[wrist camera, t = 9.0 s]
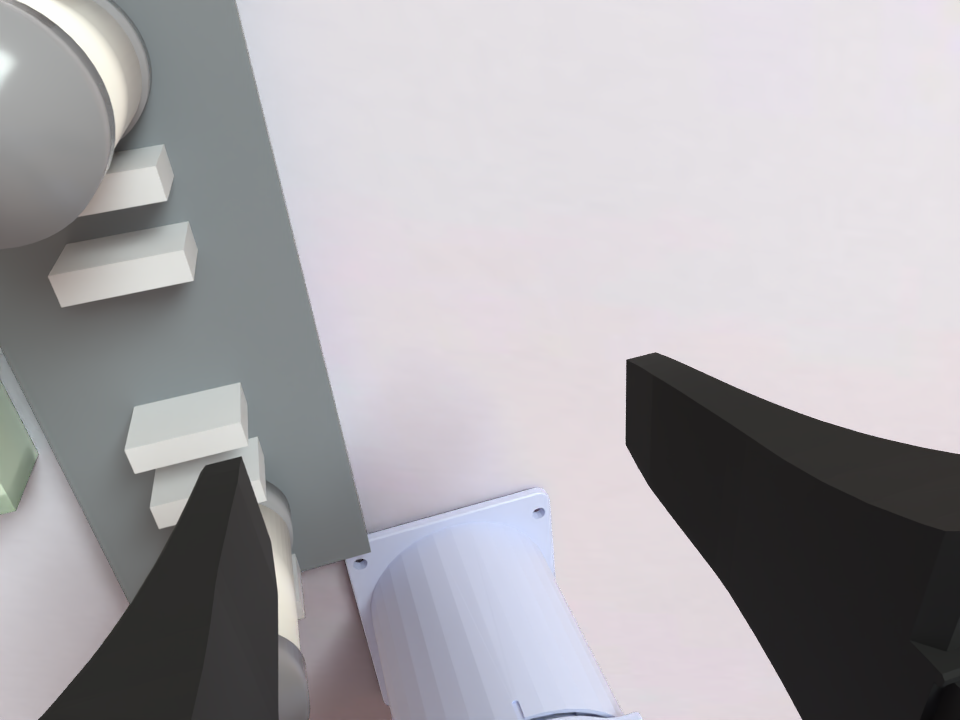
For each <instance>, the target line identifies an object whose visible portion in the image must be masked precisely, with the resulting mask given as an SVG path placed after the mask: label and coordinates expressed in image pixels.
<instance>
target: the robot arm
mask: <svg viewBox="0 0 960 720" xmlns="http://www.w3.org/2000/svg"><path fill="white" fill-rule="evenodd" d="M626 446H627V448H628V450H629V452H630V453H631V455H632V457H633V459H634V461H635V463H636V464H637V466H638V468H639V470H640V472H641V473H642V475H643V477H644V478H645V480H646V482H647V484H648V485H649V487H650V488H651V490H652V491H653V492H654V494H655V495H656V496H657V498H658V499H659V500H660V502H661V503H662V504H663V506H664V507H665V508H666V510H667V511H668V512H669V514H670V515H671V516H672V517H673V519H674V520H675V521H676V523H677V524H678V525H679V527H680V528H681V529H682V530H683V532H684V533H685V534H686V536H687V537H688V538H689V540H690V541H691V542H692V543H693V545H694V546H695V547H696V549H697V550H698V551H699V552H700V554H701V555H702V556H703V558H704V559H705V560H706V562H707V563H708V564H709V565H710V567H711V568H712V569H713V571H714V572H715V573H716V575H717V576H718V578H719V579H720V580H721V582H722V583H723V585H724V586H725V588H726V589H727V590H728V592H729V593H730V595H731V597H732V598H733V600H734V602H735V603H736V605H737V606H738V608H739V610H740V611H741V613H742V615H743V616H744V618H745V620H746V621H747V623H748V624H749V626H750V628H751V629H752V631H753V633H754V634H755V636H756V638H757V639H758V641H759V643H760V645H761V646H762V648H763V650H764V652H765V653H766V655H767V657H768V658H769V660H770V662H771V664H772V665H773V667H774V669H775V671H776V672H777V674H778V676H779V678H780V679H781V681H782V683H783V685H784V687H785V688H786V690H787V692H788V694H789V696H790V698H791V700H792V701H793V703H794V705H795V707H796V709H797V711H798V713H799V714H800V716H801V718H802V720H960V454H955V453H949V452H944V451H938V450H933V449H928V448H922V447H918V446H913V445H909V444H905V443H900V442H896V441H891V440H887V439H883V438H879V437H875V436H871V435H867V434H863V433H860V432H856V431H853V430H850V429H846V428H843V427H840V426H837V425H833V424H830V423H827V422H823V421H820V420H817V419H814V418H812V417H809V416H806V415H803V414H800V413H798V412H795V411H792V410H790V409H787V408H784V407H782V406H779V405H777V404H774V403H771V402H769V401H767V400H764V399H762V398H759V397H757V396H754V395H752V394H750V393H747V392H745V391H743V390H740V389H738V388H736V387H734V386H731V385H729V384H727V383H725V382H722V381H720V380H718V379H716V378H714V377H711V376H709V375H707V374H705V373H703V372H700V371H698V370H696V369H694V368H692V367H689V366H687V365H685V364H683V363H681V362H678V361H676V360H674V359H671V358H669V357H666V356H664V355H661V354H659V353H656V352H655V353H651V354H647V355H643V356H640V357H636V358H632V359H628V360H626ZM538 508H541V509H540V510H539V511H537V512H534V510H536V509H538ZM367 535H368V540H369V544H370V548H371V552H370V553H366V554H363V555H359V556H356V557H352V558H349V559H345V563H346V566H347V570H348V574H349V577H350V581H351V585H352V588H353V592H354V595H355V599H356V603H357V606H358V610H359V614H360V617H361V621H362V625H363V628H364V632H365V635H366V639H367V643H368V646H369V650H370V654H371V657H372V661H373V665H374V668H375V672H376V675H377V679H378V683H379V686H380V690H381V694H382V697H383V701H384V703H385V704H386V705H388V706H390V710H391V715H392V720H643V719H642V717H641V715H640V713H639V712H633V713H630V714H627V715H624V713H623V711H622V710H621V708H620V706H619V704H618V702H617V700H616V698H615V696H614V694H613V692H612V690H611V688H610V686H609V684H608V682H607V680H606V678H605V676H604V674H603V672H602V670H601V668H600V666H599V664H598V662H597V660H596V658H595V657H594V655H593V653H592V651H591V649H590V647H589V645H588V643H587V641H586V639H585V637H584V635H583V633H582V631H581V629H580V627H579V625H578V623H577V621H576V619H575V617H574V615H573V613H572V611H571V609H570V607H569V605H568V604H567V602H566V600H565V598H564V596H563V594H562V592H561V590H560V588H559V586H558V584H557V582H556V578H555V564H554V551H553V537H552V523H551V510H550V499H549V496H548V494H547V492H546V491H545V490H544V489H543V488H539V487H538V488H532V489H529V490H525V491H521V492H518V493H514V494H511V495H507V496H503V497H500V498H496V499H493V500H489V501H486V502H482V503H478V504H475V505H471V506H468V507H464V508H460V509H457V510H453V511H450V512H446V513H442V514H439V515H435V516H432V517H428V518H424V519H421V520H417V521H414V522H410V523H406V524H403V525H399V526H396V527H392V528H388V529H385V530H381V531H378V532H374V533H371V534H367ZM358 559H364V560H363V561H361V562H355V561H356V560H358ZM38 720H279V712H278V589H277V581H276V573H275V565H274V558H273V551H272V543H271V540H270V537H269V534H268V531H267V528H266V525H265V522H264V519H263V516H262V514H261V511H260V508H259V505H258V502H257V499H256V496H255V493H254V490H253V488H252V485H251V482H250V479H249V476H248V473H247V470H246V467H245V464H244V462H243V459H242V456H240V457H236V458H232V459H228V460H224V461H221V462H217V463H213V464H209V465H205V467H204V468H203V469H202V471H201V472H200V475H199V477H198V479H197V481H196V484H195V486H194V488H193V490H192V492H191V495H190V497H189V499H188V501H187V503H186V505H185V507H184V509H183V511H182V513H181V515H180V517H179V520H178V522H177V524H176V526H175V527H174V529H173V531H172V533H171V535H170V537H169V539H168V541H167V542H166V544H165V546H164V548H163V550H162V552H161V554H160V556H159V557H158V559H157V561H156V563H155V564H154V566H153V568H152V569H151V571H150V573H149V574H148V576H147V578H146V579H145V581H144V582H143V584H142V586H141V587H140V589H139V591H138V592H137V594H136V596H135V597H134V599H133V600H132V602H131V604H130V605H129V607H128V608H127V610H126V611H125V613H124V614H123V615H122V617H121V618H120V620H119V621H118V623H117V624H116V626H115V627H114V628H113V630H112V631H111V633H110V634H109V635H108V637H107V638H106V639H105V641H104V642H103V644H102V645H101V646H100V648H99V649H98V650H97V652H96V653H95V654H94V656H93V657H92V658H91V659H90V661H89V662H88V663H87V664H86V665H85V667H84V668H83V669H82V670H81V671H80V673H79V674H78V675H77V676H76V677H75V678H74V680H73V681H72V682H71V683H70V684H69V685H68V687H67V688H66V689H65V690H64V691H63V692H62V694H61V695H60V696H59V697H58V698H57V700H56V701H55V702H54V703H53V704H52V705H51V707H50V708H49V709H48V710H47V711H46V712H45V713H44V714H43V715H42V716H41V717H40V718H39V719H38Z"/></svg>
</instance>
